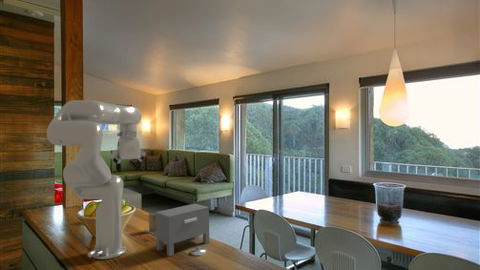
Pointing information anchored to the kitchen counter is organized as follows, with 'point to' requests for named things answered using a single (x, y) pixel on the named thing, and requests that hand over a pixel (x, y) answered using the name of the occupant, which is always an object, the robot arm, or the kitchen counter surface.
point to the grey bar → (152, 224)
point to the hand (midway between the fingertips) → (128, 171)
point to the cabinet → (181, 225)
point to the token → (198, 251)
